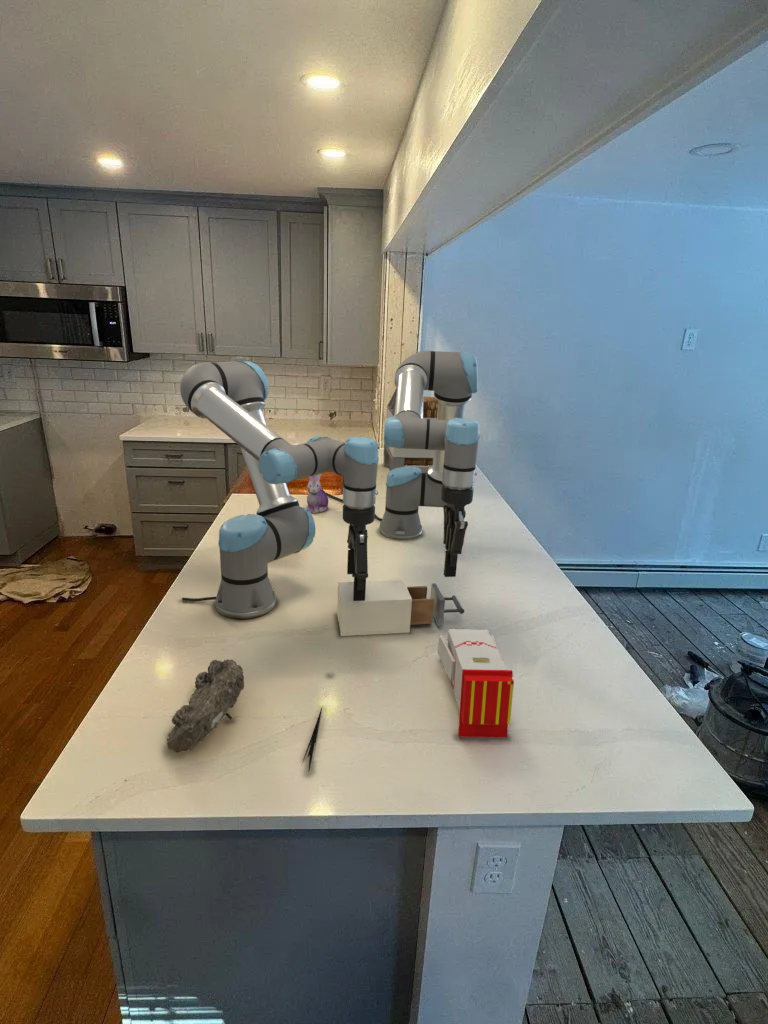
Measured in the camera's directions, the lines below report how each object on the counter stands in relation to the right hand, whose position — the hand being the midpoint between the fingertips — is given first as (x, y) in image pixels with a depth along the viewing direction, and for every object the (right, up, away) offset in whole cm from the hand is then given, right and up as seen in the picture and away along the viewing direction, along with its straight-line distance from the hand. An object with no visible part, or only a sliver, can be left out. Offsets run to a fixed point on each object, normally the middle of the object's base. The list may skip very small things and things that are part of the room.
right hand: (449, 575), depth 142 cm
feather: (-29, -24, -33) cm, 50 cm away
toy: (+2, -22, -23) cm, 32 cm away
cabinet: (-19, -12, +1) cm, 23 cm away
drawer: (-7, -11, +3) cm, 14 cm away
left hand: (-23, -2, -3) cm, 24 cm away
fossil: (-49, -23, -33) cm, 64 cm away
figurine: (-42, +17, +78) cm, 91 cm away
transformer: (+1, +35, +133) cm, 138 cm away
